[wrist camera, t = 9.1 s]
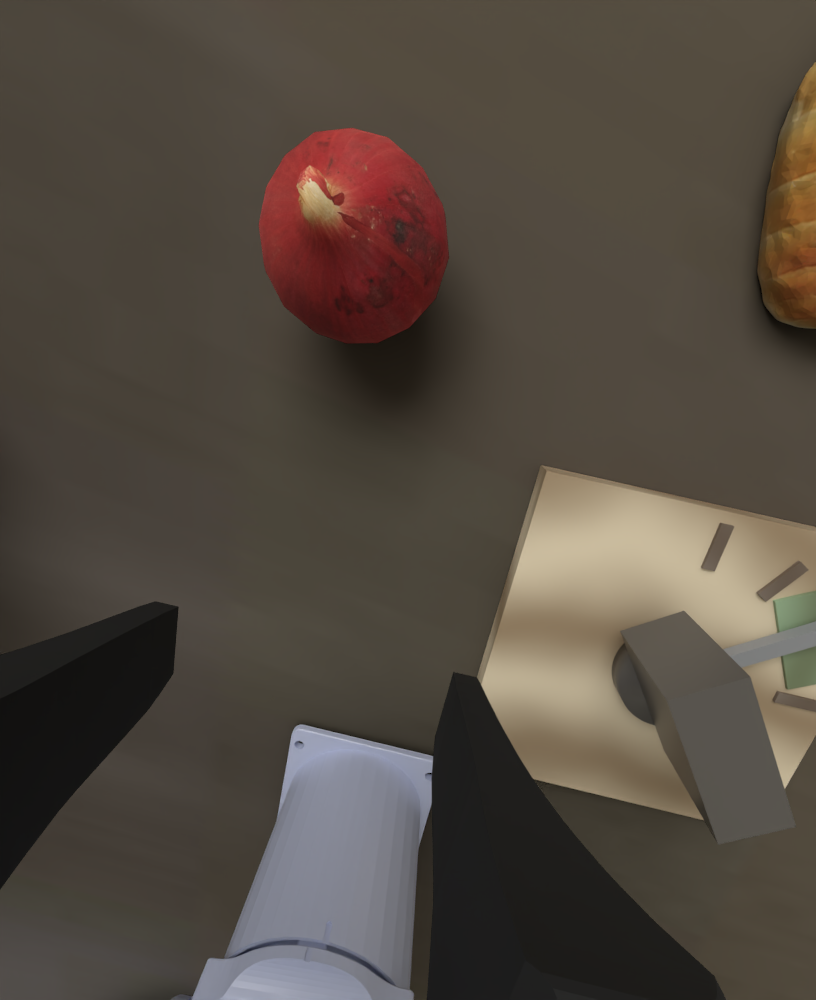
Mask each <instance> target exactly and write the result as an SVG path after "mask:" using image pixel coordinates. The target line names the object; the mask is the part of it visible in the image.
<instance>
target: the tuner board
mask: <svg viewBox="0 0 816 1000" xmlns="http://www.w3.org/2000/svg"><path fill="white" fill-rule="evenodd" d="M681 611H685V612H686V613H687V614H688V615H689V616H690V617H691V618H692V619H693V620H694V621H695V622H696V623H697V624H698V625H699V626H700V627H701V628H702V629H703V630H704V631H705V632H706V633H707V634H708V635H709V636H710V637H711V638H712V639H713V640H714V641H715V642H716V643H717V644H718V645H719V646H720V647H721V648H722V649H725V648H729V647H732V646H735V645H739V644H742V643H745V642H749V641H752V640H755V639H759V638H762V637H765V636H769V635H772V634H775V633H779V632H782V631H785V630H789V629H792V628H795V627H799V626H802V625H805V624H809V623H812V622H815V621H816V527H813V526H809V525H805V524H800V523H796V522H791V521H787V520H782V519H778V518H774V517H769V516H765V515H760V514H756V513H751V512H747V511H742V510H738V509H734V508H729V507H725V506H720V505H716V504H711V503H707V502H703V501H698V500H694V499H689V498H685V497H680V496H676V495H672V494H667V493H663V492H658V491H654V490H649V489H645V488H640V487H636V486H632V485H627V484H623V483H618V482H614V481H609V480H605V479H601V478H596V477H592V476H587V475H583V474H578V473H574V472H570V471H565V470H561V469H556V468H552V467H547V466H543V465H541V466H540V470H539V473H538V476H537V480H536V483H535V486H534V490H533V493H532V496H531V500H530V503H529V506H528V510H527V513H526V516H525V520H524V523H523V526H522V530H521V533H520V536H519V539H518V543H517V546H516V549H515V553H514V556H513V559H512V563H511V566H510V569H509V573H508V576H507V579H506V583H505V586H504V589H503V593H502V596H501V599H500V603H499V606H498V609H497V613H496V616H495V619H494V622H493V626H492V629H491V632H490V636H489V639H488V642H487V646H486V649H485V652H484V656H483V659H482V662H481V666H480V669H479V672H478V676H477V678H478V680H479V682H480V683H481V685H482V688H483V690H484V692H485V694H486V696H487V698H488V700H489V702H490V704H491V706H492V708H493V710H494V712H495V714H496V716H497V718H498V720H499V722H500V724H501V725H502V727H503V729H504V731H505V733H506V735H507V736H508V738H509V740H510V742H511V743H512V745H513V747H514V749H515V751H516V752H517V754H518V756H519V757H520V759H521V761H522V762H523V764H524V765H525V767H526V769H527V770H528V772H529V773H530V775H531V776H532V778H533V779H535V780H540V781H544V782H548V783H552V784H556V785H560V786H564V787H569V788H573V789H577V790H581V791H585V792H589V793H593V794H597V795H602V796H606V797H610V798H614V799H618V800H622V801H626V802H631V803H635V804H639V805H643V806H647V807H651V808H655V809H660V810H664V811H668V812H672V813H676V814H680V815H684V816H688V817H693V818H697V819H701V820H704V819H703V817H702V816H701V814H700V812H699V810H698V809H697V807H696V805H695V803H694V802H693V800H692V798H691V797H690V795H689V793H688V791H687V790H686V788H685V786H684V784H683V783H682V781H681V779H680V777H679V776H678V774H677V772H676V770H675V769H674V767H673V765H672V764H671V762H670V760H669V758H668V757H667V755H666V753H665V751H664V749H663V746H662V744H661V741H660V738H659V735H658V733H657V730H656V727H655V725H652V724H649V723H646V722H644V721H642V720H640V719H639V718H637V717H636V716H634V715H633V714H632V713H631V712H630V711H629V710H628V709H627V707H626V706H625V704H624V703H623V701H622V699H621V697H620V695H619V693H618V691H617V689H616V687H615V685H614V683H613V679H612V664H613V660H614V657H615V655H616V653H617V651H618V650H619V648H620V647H621V646H622V645H623V644H624V640H623V638H622V635H621V632H620V631H622V630H625V629H628V628H631V627H634V626H637V625H640V624H644V623H647V622H650V621H653V620H656V619H659V618H662V617H665V616H669V615H672V614H675V613H678V612H681ZM742 669H743V670H744V671H745V672H746V673H747V674H748V675H749V676H750V677H751V680H752V683H753V687H754V690H755V693H756V697H757V700H758V703H759V706H760V710H761V713H762V716H763V720H764V723H765V726H766V730H767V733H768V736H769V739H770V743H771V746H772V749H773V753H774V756H775V759H776V762H777V766H778V769H779V772H780V776H781V779H782V782H783V786H784V789H785V788H786V786H787V784H788V782H789V781H790V779H791V777H792V775H793V774H794V772H795V770H796V768H797V767H798V765H799V763H800V761H801V760H802V758H803V756H804V754H805V753H806V751H807V749H808V748H809V746H810V744H811V742H812V741H813V739H814V737H815V735H816V646H814V647H811V648H808V649H804V650H801V651H797V652H794V653H790V654H787V655H783V656H780V657H777V658H773V659H770V660H766V661H763V662H759V663H756V664H753V665H749V666H746V667H742Z"/></svg>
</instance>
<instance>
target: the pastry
mask: <svg viewBox="0 0 816 1000" xmlns="http://www.w3.org/2000/svg"><path fill="white" fill-rule="evenodd" d="M757 273H758V277H759V281H760V285H761V290H762V297H763V302H764V305H765V307H766V308H767V309H768V310H769V312H770V313H771V314H772V315H773V316H774V318H775V319H777V320H778V321H780V322H783V323H786V324H789V325H792V326H795V327H800V328H813V329H816V62H815V63H814V64H813V66H812V67H811V68H810V70H809V71H808V72H807V74H806V75H805V77H804V79H803V81H802V83H801V85H800V87H799V88H798V90H797V92H796V94H795V96H794V99H793V101H792V104H791V107H790V109H789V112H788V114H787V117H786V119H785V122H784V124H783V126H782V128H781V130H780V133H779V137H778V142H777V148H776V154H775V159H774V161H773V165H772V169H771V178H770V182H769V185H768V189H767V194H766V206H765V214H764V220H763V227H762V232H761V239H760V248H759V259H758V268H757Z"/></svg>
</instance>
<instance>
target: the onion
mask: <svg viewBox="0 0 816 1000" xmlns="http://www.w3.org/2000/svg"><path fill="white" fill-rule="evenodd" d="M259 230H260V237H261V245H262V252H263V259H264V266H265V270H266V273H267V275H268V276H269V278H270V280H271V282H272V284H273V286H274V288H275V290H276V292H277V294H278V296H279V298H280V299H281V301H282V303H283V305H284V307H285V308H287V309H288V310H289V311H290V312H291V313H293V314H294V315H295V316H296V317H297V318H298V319H300V320H301V321H302V322H303V323H304V324H306V325H307V326H308V327H309V328H310V329H312V330H313V331H314V332H316V333H317V334H320V335H323V336H326V337H329V338H332V339H335V340H338V341H341V342H344V343H379V342H381V341H383V340H385V339H387V338H389V337H391V336H393V335H395V334H397V333H399V332H402V331H404V330H406V329H408V328H410V326H411V325H412V324H413V323H414V322H415V321H416V320H417V319H418V318H419V316H420V315H421V314H422V313H423V312H424V311H425V310H426V309H427V308H428V306H429V305H430V304H431V303H432V302H433V301H434V300H435V299H436V296H437V293H438V290H439V287H440V284H441V281H442V277H443V274H444V271H445V268H446V265H447V262H448V259H449V252H448V241H447V229H446V218H445V212H444V209H443V205H442V203H441V201H440V199H439V197H438V196H437V194H436V192H435V190H434V188H433V186H432V184H431V182H430V181H429V179H428V177H427V175H426V173H425V171H424V169H423V168H422V167H421V166H420V165H419V164H418V163H417V162H416V161H414V160H413V159H412V158H411V157H410V156H409V155H407V154H406V153H405V152H404V151H403V150H402V149H400V148H399V147H398V146H397V145H396V144H395V143H393V142H392V141H391V140H390V139H389V138H388V137H384V136H380V135H377V134H373V133H369V132H365V131H361V130H358V129H354V128H347V129H338V130H329V131H320V132H314V133H313V134H312V135H310V136H309V137H308V138H307V139H305V140H304V141H303V142H301V143H300V144H299V145H298V146H296V147H295V148H294V149H292V150H291V151H290V152H289V153H287V154H286V155H285V156H284V158H283V159H282V161H281V163H280V165H279V166H278V168H277V170H276V171H275V173H274V175H273V177H272V178H271V180H270V182H269V183H268V185H267V187H266V191H265V196H264V201H263V206H262V211H261V216H260V221H259Z"/></svg>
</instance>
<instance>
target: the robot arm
mask: <svg viewBox="0 0 816 1000" xmlns="http://www.w3.org/2000/svg"><path fill="white" fill-rule="evenodd" d="M177 619H178V607H177V606H173V605H168V604H164V603H160V602H152V603H149V604H146V605H143V606H140V607H137V608H134V609H131V610H128V611H126V612H123V613H120V614H118V615H115V616H112V617H110V618H107V619H104V620H102V621H99V622H96V623H93V624H91V625H88V626H85V627H82V628H80V629H77V630H74V631H72V632H69V633H66V634H63V635H60V636H57V637H54V638H51V639H48V640H45V641H42V642H39V643H36V644H33V645H30V646H27V647H24V648H21V649H18V650H15V651H12V652H9V653H5V654H2V655H0V889H1V888H2V886H3V885H4V884H5V882H6V881H7V879H8V878H9V877H10V875H11V874H12V872H13V871H14V870H15V868H16V867H17V866H18V864H19V863H20V861H21V860H22V859H23V857H24V856H25V855H26V853H27V852H28V851H29V849H30V848H31V847H32V846H33V844H34V843H35V842H36V840H37V839H38V838H39V836H40V835H41V834H42V832H43V831H44V830H45V828H46V827H47V826H48V824H49V823H50V822H51V820H52V819H53V818H54V817H55V815H56V814H57V813H58V811H59V810H60V809H61V808H62V807H63V805H64V804H65V803H66V802H67V801H68V799H69V798H70V797H71V796H72V795H73V793H74V792H75V791H76V790H77V789H78V788H79V787H80V786H81V784H82V783H83V782H84V781H85V780H86V779H87V778H88V777H89V776H90V774H91V773H92V772H93V771H94V770H95V769H96V768H97V767H98V766H99V764H100V763H101V762H102V761H103V760H104V759H105V758H106V757H107V756H108V754H109V753H110V752H111V751H112V750H113V749H114V748H115V747H116V746H117V744H118V743H119V742H120V741H121V740H122V739H123V738H124V737H125V736H126V734H127V733H128V732H129V731H130V730H131V729H132V728H133V727H134V725H135V724H136V723H137V722H138V721H139V720H140V719H141V717H142V716H143V715H144V714H145V713H146V712H147V711H148V709H149V708H150V707H151V705H152V704H153V702H154V701H155V700H156V698H157V697H158V695H159V694H160V693H161V691H162V690H163V688H164V687H165V685H166V684H167V682H168V681H169V679H170V678H171V676H172V675H173V670H174V658H175V645H176V632H177ZM298 741H301V742H303V743H299V742H298ZM427 773H432V774H427ZM431 804H432V837H433V914H432V930H431V947H430V963H429V977H428V991H427V1000H726V999H725V997H724V994H723V992H722V990H721V988H720V986H719V984H718V983H717V981H716V979H715V976H714V975H712V974H711V973H710V972H709V971H708V970H707V969H706V968H705V967H704V966H703V965H702V964H700V963H699V962H698V961H697V960H696V959H695V958H694V957H693V956H692V955H691V954H690V953H688V952H687V951H686V950H685V949H684V948H683V947H682V946H681V945H680V944H679V943H678V942H676V941H675V940H674V939H673V938H672V937H671V936H670V935H669V934H668V933H667V932H666V931H665V930H663V929H662V928H661V927H660V926H659V925H658V924H657V923H656V922H655V921H654V920H653V919H652V918H651V917H650V916H649V915H648V914H647V913H646V912H645V911H644V910H643V909H642V908H641V907H640V906H639V905H638V904H637V903H636V902H635V901H634V900H633V899H632V898H631V897H630V896H629V895H628V894H627V893H626V892H625V891H624V890H623V889H622V888H621V887H620V886H619V885H618V884H617V882H616V881H615V880H614V879H613V878H612V877H611V876H610V875H609V874H608V873H607V872H606V871H605V870H604V868H603V867H602V866H601V865H600V864H599V863H598V862H597V860H596V859H595V858H594V857H593V856H592V855H591V854H590V852H589V851H588V850H587V849H586V848H585V847H584V845H583V844H582V843H581V842H580V841H579V840H578V838H577V837H576V836H575V835H574V833H573V832H572V831H571V830H570V829H569V827H568V826H567V825H566V824H565V822H564V821H563V820H562V818H561V817H560V816H559V814H558V813H557V812H556V810H555V809H554V808H553V806H552V805H551V804H550V802H549V801H548V800H547V798H546V797H545V796H544V794H543V793H542V791H541V790H540V788H539V787H538V786H537V784H536V783H535V781H534V780H533V778H532V776H531V775H530V773H529V772H528V770H527V769H526V767H525V765H524V764H523V762H522V761H521V759H520V757H519V756H518V754H517V752H516V751H515V749H514V747H513V745H512V743H511V742H510V740H509V738H508V736H507V735H506V733H505V731H504V729H503V727H502V725H501V724H500V722H499V720H498V718H497V716H496V714H495V712H494V710H493V708H492V706H491V704H490V702H489V700H488V698H487V696H486V694H485V692H484V690H483V688H482V685H481V683H480V682H479V680H478V678H476V677H472V676H468V675H464V674H459V673H455V672H453V676H452V679H451V683H450V686H449V690H448V693H447V697H446V700H445V704H444V707H443V711H442V714H441V718H440V722H439V725H438V729H437V732H436V736H435V744H434V754H433V756H431V755H427V754H423V753H418V752H414V751H410V750H406V749H402V748H398V747H394V746H389V745H385V744H381V743H377V742H373V741H369V740H365V739H361V738H356V737H352V736H348V735H344V734H340V733H336V732H332V731H327V730H323V729H319V728H315V727H311V726H307V725H297V726H296V727H295V728H294V730H293V732H292V735H291V741H290V747H289V753H288V758H287V764H286V770H285V776H284V782H283V787H282V793H281V799H280V805H279V810H278V816H277V821H276V824H275V826H274V829H273V831H272V834H271V837H270V839H269V842H268V845H267V847H266V850H265V852H264V855H263V858H262V860H261V863H260V865H259V868H258V871H257V873H256V876H255V878H254V881H253V884H252V886H251V889H250V892H249V894H248V897H247V899H246V902H245V905H244V907H243V910H242V912H241V915H240V918H239V920H238V923H237V926H236V928H235V931H234V933H233V936H232V939H231V941H230V944H229V946H228V949H227V952H226V954H225V957H224V958H223V959H219V958H209V959H208V960H207V963H206V965H205V968H204V970H203V973H202V975H201V977H200V980H199V982H198V985H197V987H196V990H195V992H194V994H193V996H189V995H183V994H180V995H177V996H175V997H173V998H172V999H171V1000H414V993H413V992H412V991H411V990H410V977H411V960H412V944H413V928H414V912H415V895H416V879H417V863H418V848H419V845H420V842H421V838H422V835H423V831H424V828H425V825H426V821H427V818H428V814H429V811H430V808H431Z"/></svg>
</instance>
